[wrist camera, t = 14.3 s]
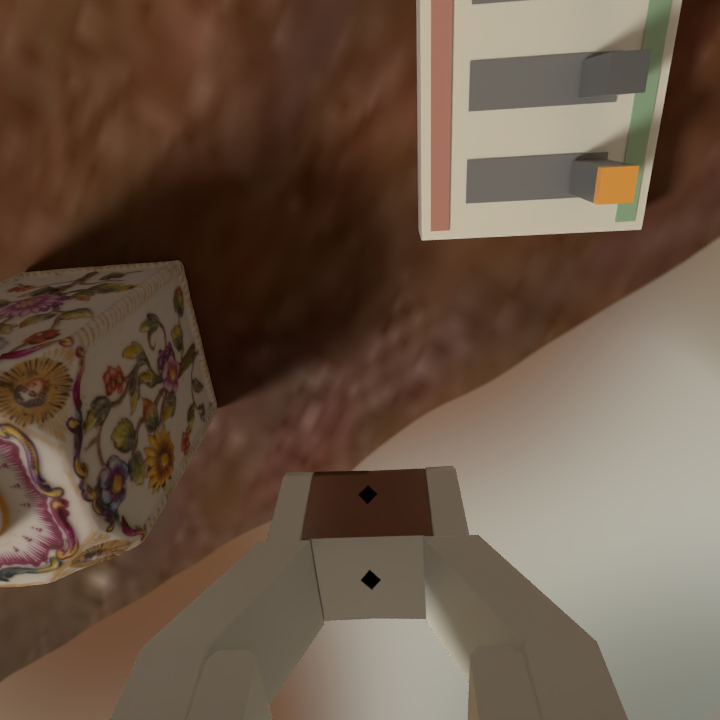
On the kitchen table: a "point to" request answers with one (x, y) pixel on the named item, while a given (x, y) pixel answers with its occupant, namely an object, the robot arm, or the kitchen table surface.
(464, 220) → the breaker box
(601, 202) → the breaker handle
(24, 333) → the decorative jar
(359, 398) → the kitchen table surface
